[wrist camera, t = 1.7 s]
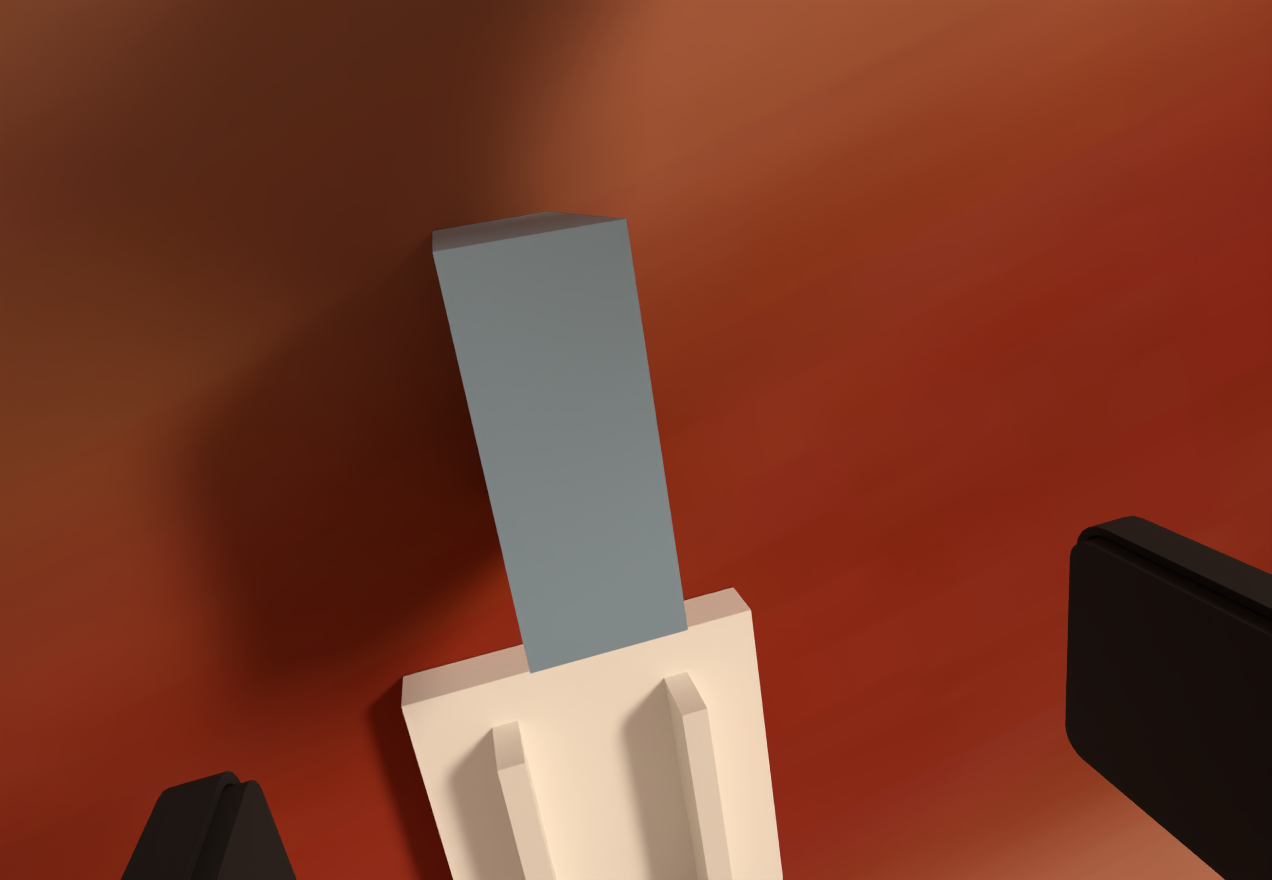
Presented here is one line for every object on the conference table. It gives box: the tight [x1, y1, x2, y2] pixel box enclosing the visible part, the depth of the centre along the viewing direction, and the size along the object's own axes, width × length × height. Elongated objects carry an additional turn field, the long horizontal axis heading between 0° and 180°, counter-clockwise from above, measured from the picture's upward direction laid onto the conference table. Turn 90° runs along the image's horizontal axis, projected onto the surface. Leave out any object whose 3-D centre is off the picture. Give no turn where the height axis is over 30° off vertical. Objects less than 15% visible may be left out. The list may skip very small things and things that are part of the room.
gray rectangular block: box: [432, 212, 688, 674], centre depth 23 cm, size 10×4×12 cm, turn 9°
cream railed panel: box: [401, 588, 783, 880], centre depth 32 cm, size 17×14×7 cm
